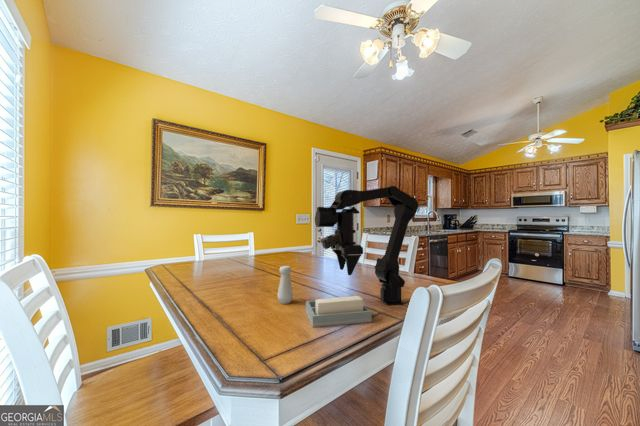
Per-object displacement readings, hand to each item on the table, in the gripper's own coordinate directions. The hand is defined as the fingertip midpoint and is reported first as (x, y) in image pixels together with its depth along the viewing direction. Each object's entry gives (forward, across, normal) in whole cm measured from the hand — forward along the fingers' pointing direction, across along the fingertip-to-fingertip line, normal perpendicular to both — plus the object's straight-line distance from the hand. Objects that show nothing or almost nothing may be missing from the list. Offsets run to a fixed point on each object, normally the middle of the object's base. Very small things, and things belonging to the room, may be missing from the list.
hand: (345, 272), depth 86 cm
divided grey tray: (+12, +6, -5) cm, 15 cm away
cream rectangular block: (+11, +10, -5) cm, 15 cm away
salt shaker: (+12, -10, -20) cm, 25 cm away
